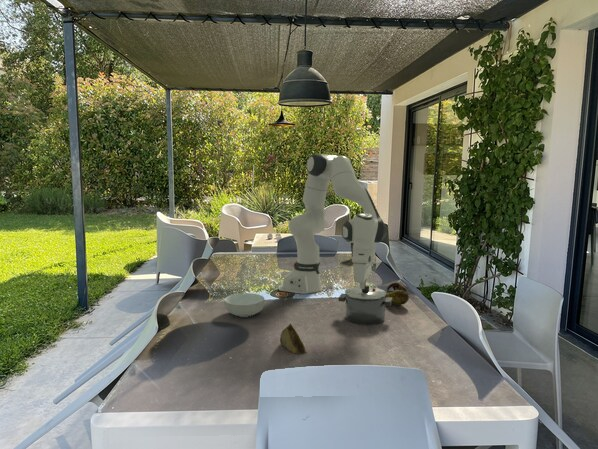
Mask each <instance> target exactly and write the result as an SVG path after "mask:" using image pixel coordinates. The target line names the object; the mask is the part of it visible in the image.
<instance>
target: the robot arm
mask: <svg viewBox="0 0 598 449" xmlns="http://www.w3.org/2000/svg"><path fill="white" fill-rule="evenodd" d="M306 170H307V172H308V175H307V178H306V182H305V184H304V185H305V186H304V190H303V196H302V202H303V204H304V208H305V212H304V214H298V215H296V216H294V217H293V218H291V219H290V220H289V222H288V231H289V232H290V234H291V235H292V237H293V238H294V240H295V243H296V250H297V252H296V253H297V254H296V255H297V260H296V261H295V262H294V263H293V266H292V267H293V269H292V270H290V272H288V273H287V274H286V275H285V276H283V281H282V283H281V284H279V285H278V291H281V292H287V293H288V292H289V293H294V294H301V295H307V294H311V293H312V294H313V293H318V292H321V291H323V287H322V282H321V262H320V247H319V244H317V243H316V240H315V235H317V234H320V233H321V232H323V231H324V230H326V228H327V225H328V220H327V217H326V215H325V203H326V198H327V194H328V190H329V183H330V182H331V187H332V190H333V192H334V194H336V196H337V197H339V198H341V199H344V200H347V201H351V202H352V203H356V204H357V205H359V206H360V207H361V208H362V210H363V212H359V213H357V214H355V215H354V217H353V218H351V219H348V220H345V222H344V223H343V224H342V226H341V235H342V238H343V239H344V240H345V241H346V242H347V243H350V244H351V243H354V244H353V256H352V255H351V262H352V263H353V264H352V269H353V271H352V272H353V280H354V281H353V282H354V283H359V287H360V289H364V288H365V287H366V285H367V280H368V279H367V278H368V277H369V275H370V274H371V272H372V264H373V263H372V261H374V260H375V259H376V244H377V243H378V244H379V243H380V242H382V241H383V240H384V239H385V238H386V236H387V231H388V229H387V226H386V223H385V221H384V220H383V218H382V217H381V216H380V213H379V212H378V209H377V208H376V205H375V202H374V201H373V199H372V197H371V194H370V192H369V191H368V189H367V188H366V187H364V186H363V185H362V184H361V183H360V181H359V180H358V179H357V177H356V174H355V173H356V172H355V168H354V167H353V164H352V161H351V160H350V159H349V158H348V157H346V156H344V155H336V154H335V155H334V154H325V153H312V154H311V155H310V156H309V157H308V158H307V162H306Z"/></svg>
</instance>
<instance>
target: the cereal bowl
mask: <svg viewBox="0 0 598 449" xmlns="http://www.w3.org/2000/svg"><path fill="white" fill-rule="evenodd" d="M224 306H225V309H226V311H227V312H229V313H230V314H232V315H235V317H238V316H239V318H249V317H248V316H250V317H252V316H254V315H256V314H258V313H260V312H261V311H262V310H263V309H264V306H265V297H264V296H262V295H260V294H257V293H250V292H242V293H234V294H230V295H228V296H226V297H225V298H224ZM251 315H252V316H251Z"/></svg>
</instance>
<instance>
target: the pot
mask: <svg viewBox="0 0 598 449" xmlns="http://www.w3.org/2000/svg"><path fill="white" fill-rule="evenodd" d="M338 302H343V303H344V302H345V320H346V321H348V322H349V323H352V324H356V325H361V326H371V325H372V326H373V325H379V324H382V323H383V322H385V319H386V316H385V315H386V306H389V307H391V305H392V298H390V297H386V299H385V297H384V298H380V299H372V300H366V299H356V298H352V297H349V296H347V295H346V294H345V293H341V294H340V295H339V296H338Z"/></svg>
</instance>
